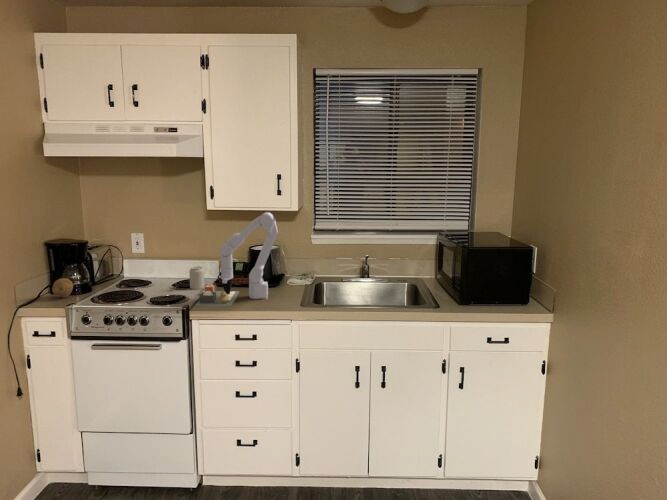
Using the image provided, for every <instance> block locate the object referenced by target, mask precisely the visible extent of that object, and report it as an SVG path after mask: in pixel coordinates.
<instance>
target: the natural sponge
mask: <svg viewBox="0 0 667 500" xmlns="http://www.w3.org/2000/svg"><path fill="white" fill-rule="evenodd" d="M73 289H74V284H73V282H72V280H71V279H69V278H64V277H61V278H58V279H57V280H55V281H54V283H53V284H52V288H51V290H52V293H53V294H54V295H55V296H58V297H60V298H63V299H66V298H68V297H69V296H70V295H71V293H73Z"/></svg>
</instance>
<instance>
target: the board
mask: <svg viewBox="0 0 667 500" xmlns="http://www.w3.org/2000/svg"><path fill="white" fill-rule="evenodd" d="M223 291H224V290H214V292H212V293H213V296H203V293H204V292H205V291H202V292H201V294H199V299H198V301H197V302H196V303H195V304H194V306H195V307H231V306H232V305H233V303H234V302H235V300H236V299H237V297H238V296H239V293H240V291H238V290H235V291H234V290H232V291H231V290H230V294H226V295H228V296H229V302H228V303H225V304H221V303H218V296H219V295H220V294H221V292H223Z"/></svg>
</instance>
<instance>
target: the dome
mask: <svg viewBox="0 0 667 500" xmlns="http://www.w3.org/2000/svg"><path fill="white" fill-rule="evenodd" d="M203 292H204V293H203V296H213V293H212V292H211V291H205V290H204V291H203Z"/></svg>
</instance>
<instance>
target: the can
mask: <svg viewBox="0 0 667 500" xmlns="http://www.w3.org/2000/svg"><path fill="white" fill-rule="evenodd" d="M188 271H189V288H190V289H192V290H200V289H205V269H204V268H203V266H191V267H190V269H189V270H188Z"/></svg>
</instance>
